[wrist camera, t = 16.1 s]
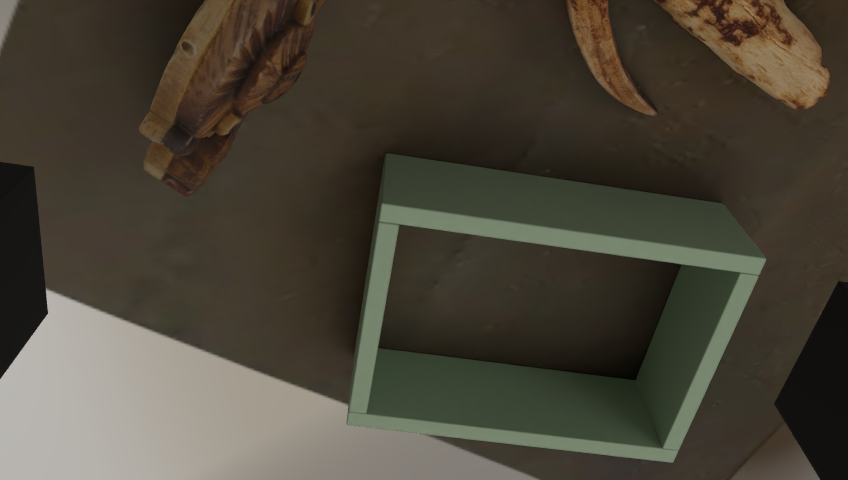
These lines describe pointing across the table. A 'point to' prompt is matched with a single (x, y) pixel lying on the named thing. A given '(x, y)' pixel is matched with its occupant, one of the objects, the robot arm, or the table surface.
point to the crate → (543, 388)
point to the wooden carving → (222, 82)
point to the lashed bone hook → (714, 47)
